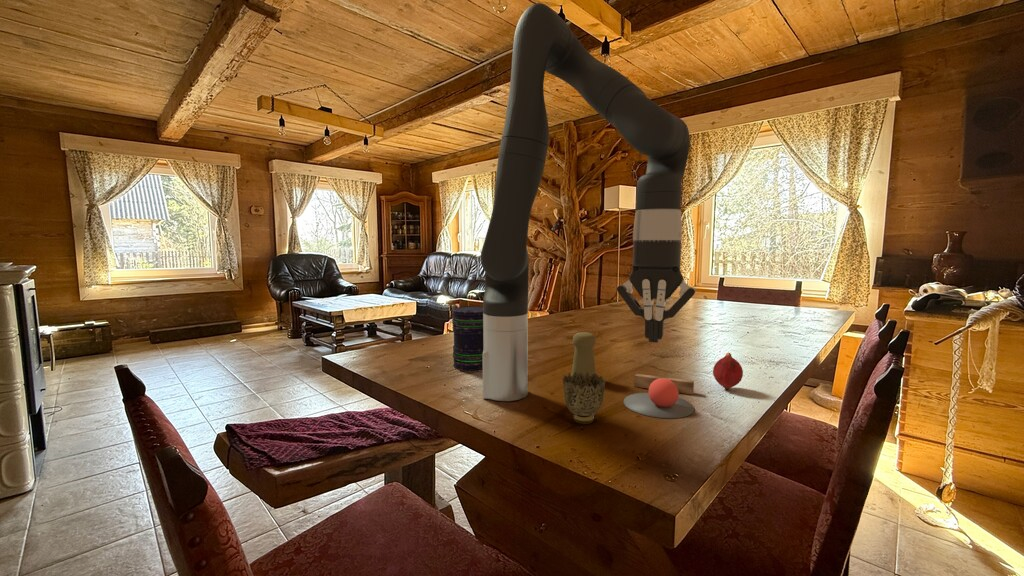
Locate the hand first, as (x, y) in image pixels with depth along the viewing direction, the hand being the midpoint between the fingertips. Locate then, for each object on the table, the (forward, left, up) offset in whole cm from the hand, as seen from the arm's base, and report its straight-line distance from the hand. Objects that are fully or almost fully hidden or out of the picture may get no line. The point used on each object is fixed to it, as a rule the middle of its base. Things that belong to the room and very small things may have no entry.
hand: (653, 341), depth 73 cm
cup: (-11, +2, -15) cm, 19 cm away
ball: (+5, +9, -12) cm, 16 cm away
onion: (+23, +19, -15) cm, 33 cm away
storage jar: (-34, +37, -15) cm, 53 cm away
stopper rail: (+9, +19, -15) cm, 26 cm away
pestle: (-7, +26, -15) cm, 31 cm away
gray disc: (+5, +10, -15) cm, 19 cm away
